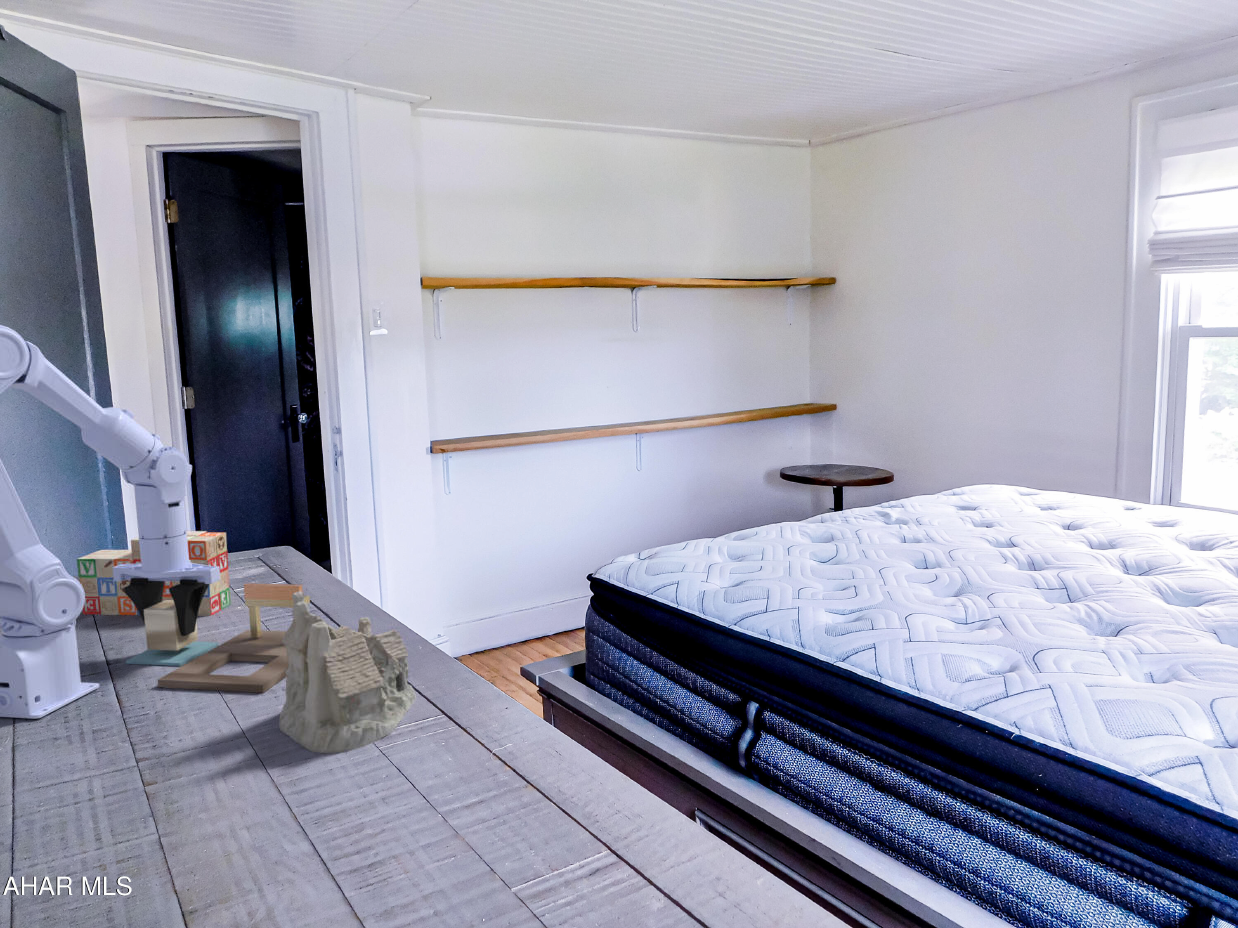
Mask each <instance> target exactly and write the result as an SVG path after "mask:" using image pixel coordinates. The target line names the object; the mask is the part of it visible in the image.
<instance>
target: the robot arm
mask: <svg viewBox="0 0 1238 928" xmlns="http://www.w3.org/2000/svg"><path fill="white" fill-rule="evenodd" d="M8 388H13V389H20V390H23V391H25V392H27V393H28V394H29V395H31V396H33V397H34V398H36V399H37V400H39V402H42V403H43V404H45V405H46V406H48V407H49V408H51V409H52V410H54V411H55V412H56V413H58V414H59V415H61V416H62V417H64V418H66V419H67V420H69V421H70V422H71V423H74V424H75V425H76V426H77V427H79V428H80V431H81V432H80V433H81V439H82V442H83V443H84V444H85V445H86V446H88V447H89V448H91V449H92V450H94V451H95V452H96V453H98V454H99V455H101V456H102V457H103V458H105V460H108V461H109V462H111V464H113V465H114V466H115V467H117V468H118V469H120V472H121V475H122V477H123V480H124V481H125V482H126V483H127V484H131V485H132V486H133V488H134V489H133V490H134V491H133V492H134V500H135V509H136V520H137V521H136V523H137V530H138V531H137V532H138V537H139V545H140V556H141V563H140V564H121V565H118V566H115V567H113V576H114V581H123V580H131V583H130V585H129V586H126V587H124V592H125V594H126V595H127V596H128V597H129V598H130V599H131V601H132V602H133V603H134V605H135V606H136V608H137V609H138V611H139V613H140V615H139V616H140V617H141V620H142V622H143V624H144V625H145V619H144V609H146V608H149V607H151V606H153V605H156V604H158V603H160V602H162V597H163V589H164V584H165V581H177V582H180V584H178V585H175V586H173V587H170V588H169V592H170V594H171V596H172V598H173V601H174V604H175V607H176V611H177V616H178V625H179V629H180V633H181V636H187V635H189V634H191V633H193V632H195V626H196V622H197V619H198V616H197V615H198V611H199V607H200V604H201V601H202V599H203V596H204V594H205V592H206V590H207V588H208V586H209V584H213V583H215V582H217V581H220V569H219V566H207V565H202V564H196V563H191V561H190V560H189V553H188V541H187V532H188V531H187V530H188V529H187V521H186V520H187V519H186V509H185V497H186V496H187V490H186V489H187V488H186V487H187V483H188V482H189V480H190V478H191V475H192V472H193V465H192V464H190V463H189V462H188V459H187V457H186V455H185V454H184V452H183V451H182V450H180V449H178V448H176V447H174V446H168V445H167V446H165V445H163V442H161V439H162V437H160V436H159V435H158V434H156V433H151V432H149V431H148V430H146V429H145V428H144V427H143V426H141V424H139V422H137V421H135V420H134V417H135V414H134V413H133V412H131V411H130V410H129V409H120V408H118V407H114V406H112V407H105V408H104V407H102V406H101V405H100V404H99V403H98V402H96V401H95V400H94V399H93V398H92V397H90V395H88V394H87V392H85V391H83V390H82V389H81V388H80V387H79V386H78V385H77V384H75V382H73V381H72V380H71V379H70V378H69V377H68V376H66V374H64V373H63V372H62V371H61V370H60V369H58V368H57V367H56V365H54V364H52V362H50V361H49V360H48V359H47V358H46V357H45V356H44V354H43V353H42V351H41V349H39V347H38V346H37V345H35V344H33V343H32V342H30V341H28V340H25V339H24V338H23V337H22V336H21V334H20V333H18V332H17V331H16V330H14V329H13V328H10V327H8V326H5V325H1V324H0V395H1V394H2V393H4V391H5V390H7V389H8ZM84 603H85V592H84V589H83V587H82V585H81V584H80V581H79V580H78V579H76V578H75V577H74V576H73V575H70V574H69V573H68V572H67V570H66V569H65V567H64V565H63V563H62V561H61V560H60V559H59V558H58V557H57V556H55V554H53V553H52V552H51V551H49V549H47V548H46V547H45V546H43V545H42V543H41V540H40V539H39V537H38V534H37V532H36V530H35V528H34V526H33V523H32V522H31V520H30V518H29V515H28V513H27V511H26V510H25V507H24V506H23V503H22V501H21V499H20V497H19V494H18V492H17V490H16V488H15V486H14V484H13V482H12V480H11V478H10V476H9V473H8V472H7V470H6V467H5V466H4V464H3V461H2V459H1V458H0V633H1V634H0V718H17V719H19V718H20V719H34V720H35V719H36V720H37V719H41V718H43V717H45V716H47V715H48V714H50V713H52V712H54V711H56V710H58V709H60V708H62V707H64V706H66V705H68V704H70V703H72V702H74V701H77V699H79V698H81V697H84V696H85V695H87V694H90V693H91V692H93V691H95V690H96V689H99V688H100V683H97V682H96V683H95V682H82V680H81V679H82V678H81V669H80V662H79V652H78V651H79V650H78V641H77V633H76V632H77V631H76V625H77V620H76V619H78V617H79V616H80V614H81V613H82V612H83V611H82V609H83V607H84Z"/></svg>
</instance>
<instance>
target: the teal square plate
mask: <svg viewBox="0 0 1238 928" xmlns="http://www.w3.org/2000/svg"><path fill="white" fill-rule="evenodd" d="M217 646H219V642H217V641H216V642H215V641H214V642H213V641H212V642H211V641H194V642H193V643H191V644H189V645H187V646H185V647H183V648H181V649H179V650H177V651H174V650H151V649H146V650H145V651H143V652H141V653H138V654H136V655H134V656H132V657H131V658H129V659H127V660H125V663H126V664H130V665H131V664H132V665H148V666H149V665H150V664H151V665H153V666H168V667H169V666H171V667H181V666H183V665H185V664H187V663H189V662H190V661H192V660H194V659H196V658H198V657H199V656H201V655H203V654H205V653H207V652H208V651H210V650H212V649H214V648H216V647H217ZM151 665H150V666H151Z"/></svg>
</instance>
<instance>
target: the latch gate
mask: <svg viewBox="0 0 1238 928" xmlns="http://www.w3.org/2000/svg"><path fill="white" fill-rule="evenodd" d="M299 591H301V592H302V593H303V595H304V602H305V603H308V604H310V603H311V600H310V599H311V598H310V597H311V596H310V595H305V594H304V592H303V584H285V583H284V584H283V583H252V582H250V583H249V582H246V583H244V584H243V592H244V594H243V595H244V604H245V605H244V606H245V607H248V615H249V616H248V617H249V626H250V627H249V630H250V631H251V637H259V636H261V635H262V633H261V630H262V626H261V625H262V624H261V623H262V622H261V610H260V609H261V608H260V607H264V608H265V607H266V608H289V609H290V608H292V609H293V606H294V601H293V598H292V594H294V593H296V592H299Z"/></svg>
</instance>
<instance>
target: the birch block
mask: <svg viewBox="0 0 1238 928" xmlns="http://www.w3.org/2000/svg"><path fill="white" fill-rule="evenodd" d="M144 619H145V624H144V626H145V639H146V648H147V649H146V650H148V649H151V650H174V651H177V650H179V649H181V648H183V647H185V646H187V645H189V644H191V643H193V642H197V641H198V640H199V635H198V626H197V624H198V623H197V621H196V626H195V632H193V633H191V634H189V635H187V636H181V633H180V629H179V625H178V616H177V611H176V607H175V604H174V601H173V600H165V601H163V602H160V603H158V604H156V605H153V606H151V607H149V608H146V609H144Z"/></svg>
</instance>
